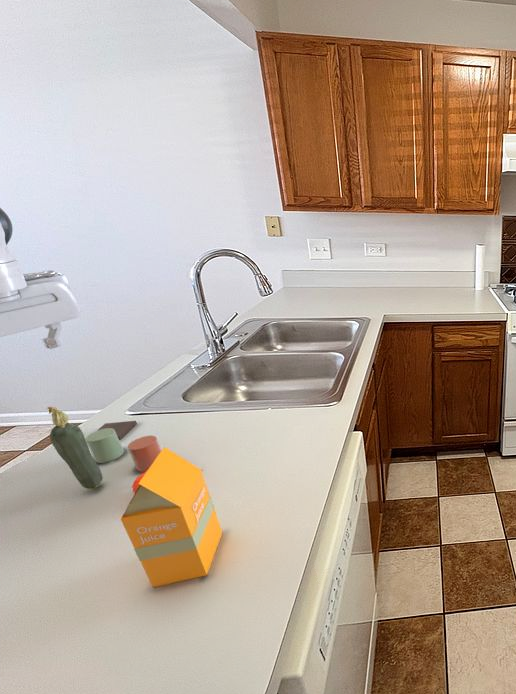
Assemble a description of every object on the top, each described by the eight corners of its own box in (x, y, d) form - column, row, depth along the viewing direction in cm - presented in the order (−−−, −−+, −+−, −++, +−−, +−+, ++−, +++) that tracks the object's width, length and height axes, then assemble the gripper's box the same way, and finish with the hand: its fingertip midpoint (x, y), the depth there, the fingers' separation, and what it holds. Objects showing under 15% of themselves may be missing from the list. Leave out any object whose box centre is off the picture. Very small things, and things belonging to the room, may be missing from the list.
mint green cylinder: (89, 464, 89) (79, 442, 87) (104, 450, 93) (95, 429, 91) (115, 461, 90) (105, 439, 87) (128, 448, 94) (119, 426, 92)
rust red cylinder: (131, 473, 86) (122, 450, 84) (144, 458, 91) (136, 436, 88) (157, 470, 87) (148, 448, 85) (169, 455, 92) (161, 434, 89)
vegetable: (111, 488, 82) (72, 405, 74) (83, 501, 79) (40, 416, 71) (102, 480, 84) (64, 399, 76) (76, 493, 81) (33, 409, 73)
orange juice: (151, 588, 62) (104, 489, 54) (174, 542, 70) (136, 450, 62) (208, 575, 64) (170, 478, 56) (224, 532, 72) (193, 441, 64)
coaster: (87, 443, 96) (85, 439, 96) (106, 426, 102) (105, 423, 102) (120, 439, 97) (118, 436, 97) (137, 423, 104) (135, 420, 103)
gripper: (51, 266, 75) (78, 334, 80) (-128, 294, 57) (-77, 379, 62) (73, 269, 73) (100, 338, 79) (-104, 298, 55) (-54, 385, 61)
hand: (20, 357), depth 70 cm, fingers open, 8 cm apart
